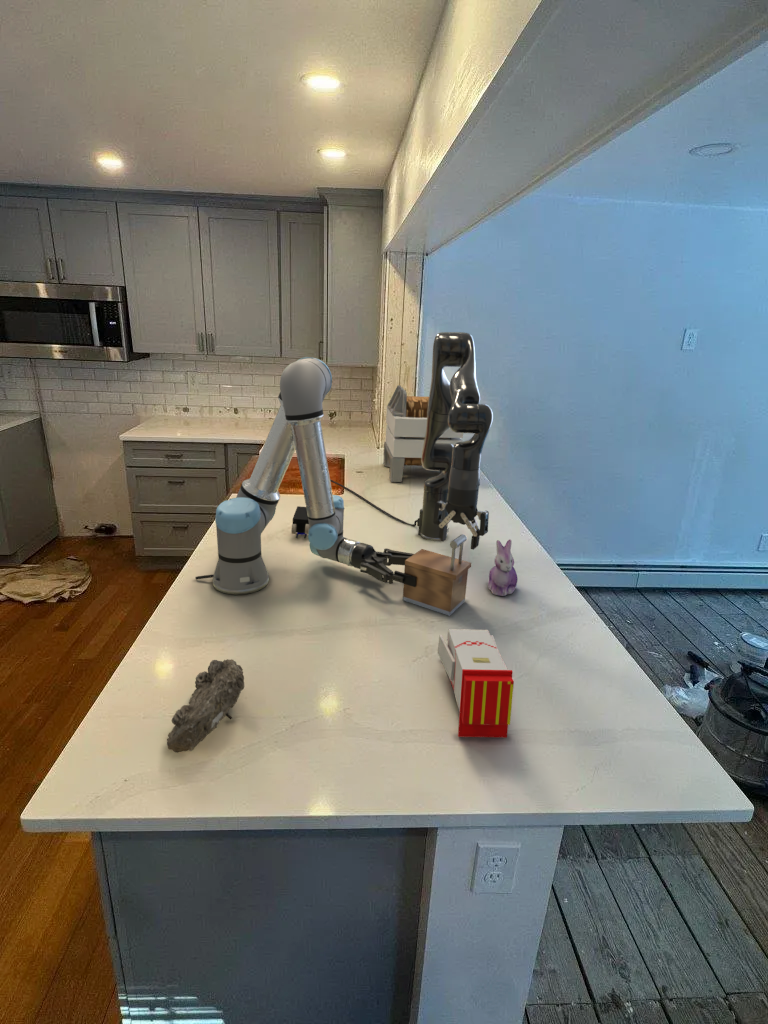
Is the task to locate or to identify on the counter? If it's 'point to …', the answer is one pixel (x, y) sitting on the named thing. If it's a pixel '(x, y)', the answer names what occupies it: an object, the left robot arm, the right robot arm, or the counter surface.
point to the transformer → (408, 432)
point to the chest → (435, 591)
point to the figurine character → (300, 522)
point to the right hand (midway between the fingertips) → (458, 544)
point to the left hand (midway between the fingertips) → (425, 575)
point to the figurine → (503, 571)
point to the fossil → (206, 705)
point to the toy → (478, 682)
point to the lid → (441, 561)
